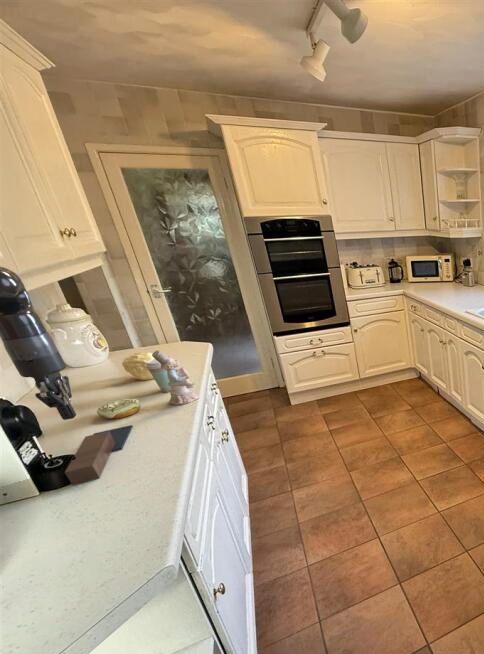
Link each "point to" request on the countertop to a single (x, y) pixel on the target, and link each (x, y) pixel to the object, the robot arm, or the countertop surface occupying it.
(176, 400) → the figurine
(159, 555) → the countertop surface
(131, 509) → the countertop surface
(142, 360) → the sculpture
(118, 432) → the rubber mat
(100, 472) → the walnut block
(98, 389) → the countertop surface
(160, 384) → the coffee cup
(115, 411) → the decorated donut
